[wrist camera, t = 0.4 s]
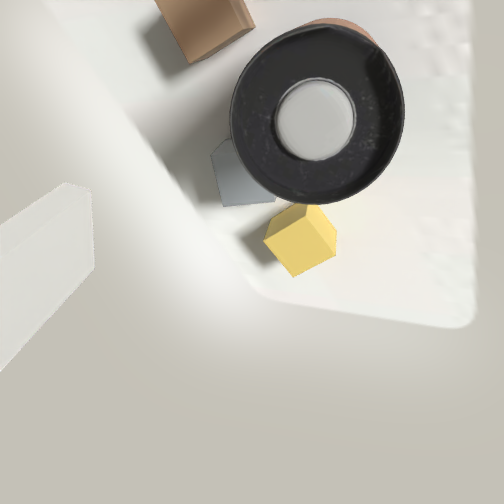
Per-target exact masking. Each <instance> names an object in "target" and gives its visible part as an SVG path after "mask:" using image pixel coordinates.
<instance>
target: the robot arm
mask: <svg viewBox="0 0 504 504" xmlns="http://www.w3.org/2000/svg"><path fill="white" fill-rule="evenodd" d="M94 269H95V259H94V238H93V217H92V196H91V189H87V188H84V187H80V186H77V185H73V184H69V183H66V182H64V183H63V184H61V185H60V186H58V187H56V188H55V189H54V190H52V191H50V192H49V193H48V194H46V195H45V196H43V197H41V198H40V199H38V200H37V201H35V202H34V203H32V204H31V205H29V206H28V207H26V208H25V209H23V210H22V211H20V212H19V213H17V214H16V215H14V216H13V217H11V218H10V219H8V220H7V221H5V222H3V223H2V224H0V371H1V370H2V369H3V368H4V367H5V366H6V365H7V364H8V363H9V362H10V360H11V359H12V358H13V357H14V356H15V355H16V354H17V353H18V352H19V351H20V349H22V347H23V346H24V345H25V344H26V343H27V342H28V341H29V340H30V339H31V338H32V337H33V336H34V334H35V333H36V332H37V331H38V330H39V329H40V328H41V327H42V326H43V325H44V323H45V322H46V321H47V320H48V319H49V318H50V317H51V316H52V315H53V314H54V313H55V312H56V310H57V309H58V308H59V307H60V306H61V305H62V304H63V303H64V301H66V299H67V298H68V297H69V296H70V295H71V294H72V293H73V292H74V291H75V290H76V289H77V287H78V286H79V285H80V284H81V283H82V282H83V281H84V280H85V279H86V277H88V276H89V274H90V273H91V272H92V271H93V270H94Z"/></svg>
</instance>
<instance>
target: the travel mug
mask: <svg viewBox="0 0 504 504" xmlns="http://www.w3.org/2000/svg"><path fill="white" fill-rule="evenodd" d="M404 119H405V104H404V97H403V91H402V87H401V84H400V80H399V78H398V76H397V73H396V71H395V68H394V67H393V65H392V63H391V61H390V59H389V58H388V56H387V55H386V53H385V52H384V51H383V50H382V49H381V48H380V47H379V46H378V45H377V44H376V42H375V41H374V40H373V38H372V37H371V36H370V35H369V34H368V33H367V32H366V31H365V30H364V29H362V28H361V27H359V26H358V25H356V24H354V23H352V22H349V21H347V20H343V19H338V18H325V19H319V20H314V21H312V22H309V23H307V24H304V25H302V26H300V27H297V28H295V29H293V30H291V31H288V32H286V33H284V34H282V35H280V36H278V37H277V38H275V39H273V40H272V41H270V42H269V43H268V44H266V45H265V46H264V47H262V48H261V49H260V50H259V51H258V52H257V53H256V54H255V55H254V56H253V58H252V59H251V60H250V62H249V63H248V64H247V65H246V67H245V68H244V70H243V72H242V74H241V75H240V77H239V79H238V82H237V84H236V87H235V89H234V93H233V97H232V100H231V107H230V132H231V137H232V142H233V145H234V148H235V151H236V154H237V156H238V158H239V160H240V162H241V164H242V165H243V167H244V168H245V170H246V171H247V172H248V174H249V175H250V176H251V177H252V178H253V179H254V180H255V181H256V182H257V183H258V184H259V185H260V186H261V187H263V188H264V189H265V190H267V191H268V192H270V193H271V194H273V195H275V196H277V197H279V198H282V199H284V200H287V201H290V202H294V203H298V204H306V205H321V204H329V203H333V202H338V201H341V200H344V199H346V198H349V197H351V196H353V195H355V194H357V193H359V192H360V191H362V190H363V189H365V188H366V187H368V186H369V185H370V184H371V183H372V182H374V181H375V180H376V179H377V178H378V177H379V176H380V175H381V173H382V172H383V171H384V170H385V168H386V167H387V166H388V164H389V163H390V161H391V160H392V158H393V156H394V154H395V152H396V150H397V148H398V145H399V143H400V139H401V136H402V132H403V127H404Z"/></svg>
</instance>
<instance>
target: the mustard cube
mask: <svg viewBox="0 0 504 504" xmlns="http://www.w3.org/2000/svg"><path fill="white" fill-rule="evenodd" d="M336 235H337V231H336V229H335V228H334V227H333V225H332V224H331V223H330V221H329V220H328V219H327V217H326V216H325V214H324V213H323V212H322V210H321V209H320V208H319V206H318V205H306V204H298V203H295V204H294V205H292V206H290V207H289V208H287V209H286V210H284V211H283V212H281V213H279V214H278V215H276V216H275V217H273V218H271V221H270V223H269V226H268V229H267V232H266V235H265V237H264V240H263V242H264V243H265V244H266V245H267V246H268V248H269V249H270V250H271V251H272V252H273V254H274V255H275V256H276V257H277V259H278V260H279V261H280V262H281V263H282V265H283V266H284V267H285V268H286V269H287V271H288V272H289V273H290V274H291V275H292V277H295V276H297V275H299V274H301V273H303V272H305V271H306V270H308V269H310V268H312V267H314V266H316V265H318V264H320V263H322V262H324V261H326V260H328V259H330V258H332V257H334V256H335V255H336Z"/></svg>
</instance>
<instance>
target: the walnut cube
mask: <svg viewBox="0 0 504 504" xmlns="http://www.w3.org/2000/svg"><path fill="white" fill-rule="evenodd" d="M155 2H156V4H157V6H158V8H159V9H160V11H161V13H162V15H163V17H164V19H165V20H166V22H167V24H168V26H169V28H170V30H171V31H172V33H173V35H174V37H175V39H176V41H177V42H178V44H179V46H180V48H181V50H182V52H183V53H184V55H185V57H186V59H187V61H188V63H189V64H191V63H194V62H197V61H200V60H203V59H206V58H209V57H210V56H212V55H213V54H215V53H216V52H218V51H219V50H221V49H223V48H224V47H226V46H227V45H229V44H230V43H232V42H233V41H235V40H237V39H238V38H240V37H241V36H243V35H244V34H246V33H248V32H249V31H251V30H252V29H254V28H255V27H256V26H255V24H254V22H253V20H252V18H251V16H250V13H249V11H248V9H247V7H246V5H245V3H244V0H155Z"/></svg>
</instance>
